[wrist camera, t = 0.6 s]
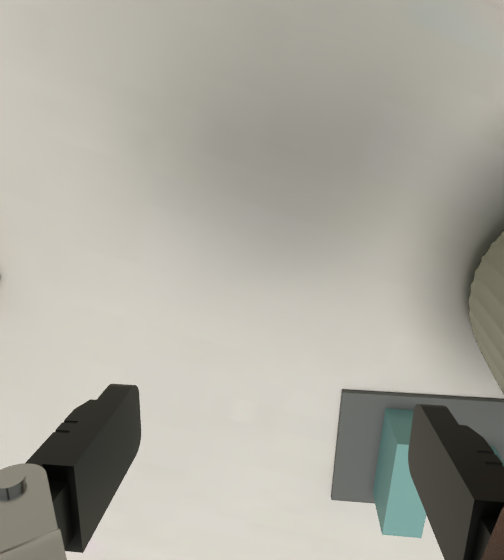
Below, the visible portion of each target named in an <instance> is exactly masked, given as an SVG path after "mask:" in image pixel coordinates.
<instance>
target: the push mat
mask: <svg viewBox="0 0 504 560" xmlns="http://www.w3.org/2000/svg"><path fill="white" fill-rule="evenodd" d="M417 404H428V405H444V406H446V407H447V408H448V409H449V411H450V412H451V414H452V415H453V417H454V418H455V419H456V421H457V422H458V424H459V425H467V426H469V427H470V428H471V429H473V430H474V431H475V432H477V433H478V434H479V435H481V436H482V437H483V438H484V439H485V440H486V441H487V443H488V444H489V446H494V447H495V449H496V450H497V452H498V453H499V455H500V456H501V458H502V460H503V461H504V399H490V398H474V397H457V396H440V395H424V394H407V393H390V392H373V391H357V390H342V395H341V405H340V415H339V425H338V435H337V444H336V454H335V464H334V474H333V483H332V493H331V499H332V500H339V501H352V502H364V503H375V500H374V496H373V488H374V481H375V474H376V468H377V461H378V454H379V447H380V441H381V434H382V427H383V421H384V414H385V408H389V409H405V410H414V408H415V406H416V405H417Z"/></svg>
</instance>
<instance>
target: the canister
mask: <svg viewBox="0 0 504 560" xmlns="http://www.w3.org/2000/svg"><path fill="white" fill-rule="evenodd" d="M470 289H471V295H470V297H469V301H468V302H469V307H470V311H469V319H470V322H471V324H472V331H473V335H474V337H475V339H476V342H477V343H478V345H479V348H480V350H481V353H482V355H483V357H484V359H485V360H486V362H487V364H488V366H489V368H490V370H491V372H492V374H493V376H494V377H495V379H496V381H497V383H498V385H499V387H500V389H501V390H502V392H503V394H504V231H502V233H501V235H500V236H499V238H498V239H497V240H496V241H495V242H493V243H492V244H491V245H490V248H489V250H488V251H487V253H486V254H485V255H484V256H483V257H482V259H481V263H480V265H479V267H478V268H477V269H476V270H475V277H474V280H473V282H472V283H471V286H470Z"/></svg>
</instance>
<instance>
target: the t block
mask: <svg viewBox="0 0 504 560" xmlns="http://www.w3.org/2000/svg"><path fill="white" fill-rule="evenodd" d="M413 413H414V410H405V409H389V408H385V414H384V421H383V427H382V434H381V441H380V447H379V454H378V461H377V468H376V474H375V481H374V488H373V496H374V500H375V505H376V509H377V514H378V518H379V522H380V527H381V531H382V535H393V536H404V537H416V538H421V536H422V532H423V527H424V523H425V518H426V512H425V510H424V507H423V505H422V502H421V500H420V497H419V495H418V492H417V490H416V487H415V485H414V483H413V480H412V478H411V475H410V471H409V465H408V450H409V442H410V435H411V427H412V420H413ZM490 447H491V448H492V450H493V451H494V454H496V455H497V456H498V458H499V459H500V460H501V462H502V463H503V466H504V461H503V460H502V458H501V456H500V455H499V453H498V452H497V450H496V449H495V447H494V446H490Z"/></svg>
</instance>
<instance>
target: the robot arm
mask: <svg viewBox="0 0 504 560" xmlns="http://www.w3.org/2000/svg"><path fill="white" fill-rule="evenodd" d="M140 440H141V421H140V403H139V390H138V387H137V386H136V385H122V384H110V385H109V386H108V387H107V388H106V389H105V391H104V392H103V393H102V394H101V395H100V396H99V398H98V399H97V400H89V401H87V402H86V403H84V404H82V405H81V406H79V407H77V408H76V409H74V410H73V411H72V413H71V414H70V415H69V416H68V417H67V418H66V419H65V420H64V423H61V425H60V426H59V427H58V428H57V429H56V432H53V433H52V434H51V436H50V437H49V438H48V439H47V440H46V441H45V442H44V443H43V444H42V445H41V446H40V448H39V449H38V450H37V451H36V452H35V453H34V454H33V455H32V456H31V457H30V459H29V460H28V461H27V462H26V463H25V464H17V465H13V466H9V467H6V468H3V469H1V470H0V560H67V559H66V554H65V551H71V552H81V553H83V552H84V550H85V548H86V546H87V544H88V542H89V541H90V539H91V537H92V535H93V533H94V531H95V530H96V528H97V526H98V524H99V522H100V520H101V519H102V517H103V515H104V513H105V511H106V509H107V508H108V506H109V504H110V502H111V500H112V498H113V496H114V495H115V493H116V491H117V489H118V487H119V485H120V484H121V482H122V480H123V478H124V476H125V474H126V473H127V471H128V469H129V467H130V465H131V463H132V462H133V460H134V458H135V456H136V454H137V452H138V449H139V445H140ZM408 465H409V471H410V475H411V478H412V480H413V483H414V485H415V487H416V490H417V492H418V495H419V497H420V500H421V502H422V505H423V507H424V510H425V512H426V515H427V517H428V520H429V522H430V525H431V527H432V529H433V532H434V534H435V537H436V539H437V542H438V544H439V547H440V549H441V552H442V554H443V557H444V559H445V560H504V466H503V463H502V462H501V460H500V459H499V458H498V456H497V455H496V454H494V451H493V450H492V448H491V447H490V446H489V444H488V443H487V441H486V440H485V439H484V438H483V437H482V436H481V435H479V434H478V433H477V432H475V431H474V430H473V429H471V428H470V427H469V426H467V425H459V424H458V422H457V421H456V419H455V418H454V417H453V415H452V414H451V412H450V411H449V409H448V408H447V407H446V406H444V405H428V404H417V405H416V406H415V408H414V413H413V420H412V427H411V435H410V442H409V450H408Z"/></svg>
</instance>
